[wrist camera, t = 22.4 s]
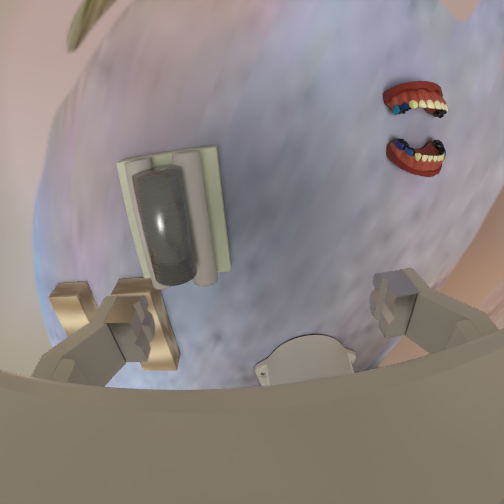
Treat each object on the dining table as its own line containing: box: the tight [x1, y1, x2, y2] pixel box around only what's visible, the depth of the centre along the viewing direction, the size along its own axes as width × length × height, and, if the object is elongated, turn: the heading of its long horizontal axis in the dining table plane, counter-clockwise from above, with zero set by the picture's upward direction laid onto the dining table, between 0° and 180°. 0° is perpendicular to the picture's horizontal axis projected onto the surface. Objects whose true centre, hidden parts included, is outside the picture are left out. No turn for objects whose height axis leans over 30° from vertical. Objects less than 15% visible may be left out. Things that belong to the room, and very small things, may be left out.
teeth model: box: [383, 81, 448, 177], centre depth 30 cm, size 8×6×12 cm
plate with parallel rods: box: [117, 145, 231, 290], centre depth 35 cm, size 16×12×5 cm
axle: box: [132, 165, 197, 286], centre depth 31 cm, size 12×5×5 cm, turn 5°
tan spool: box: [48, 277, 180, 370], centre depth 43 cm, size 16×18×4 cm
